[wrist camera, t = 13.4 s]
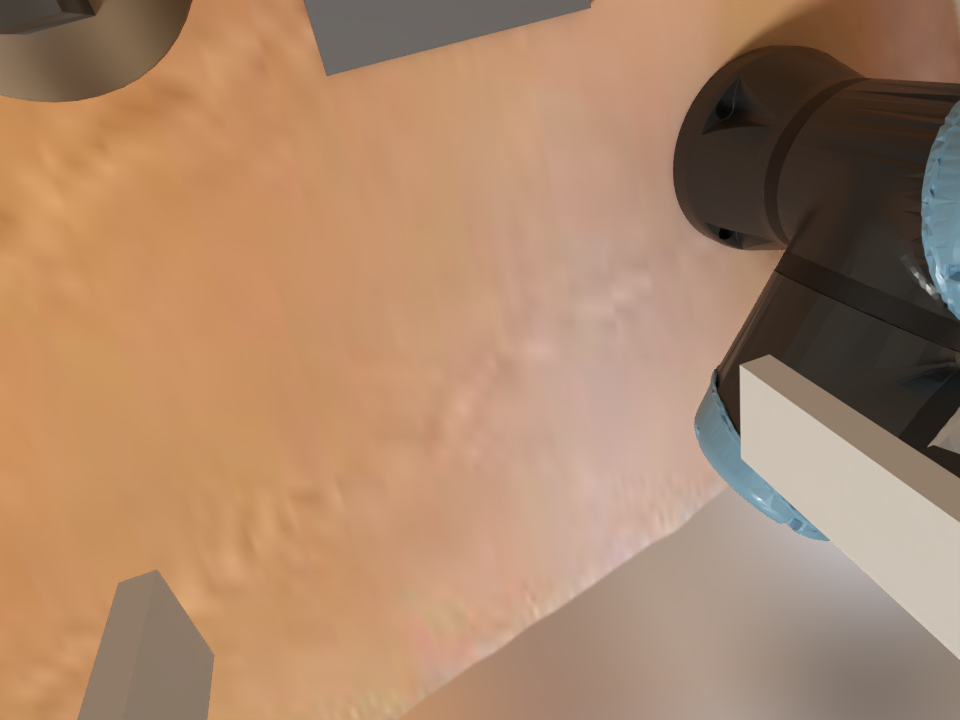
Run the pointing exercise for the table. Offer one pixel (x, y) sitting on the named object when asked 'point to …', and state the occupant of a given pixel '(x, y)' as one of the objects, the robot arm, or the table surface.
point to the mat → (415, 25)
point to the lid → (82, 45)
